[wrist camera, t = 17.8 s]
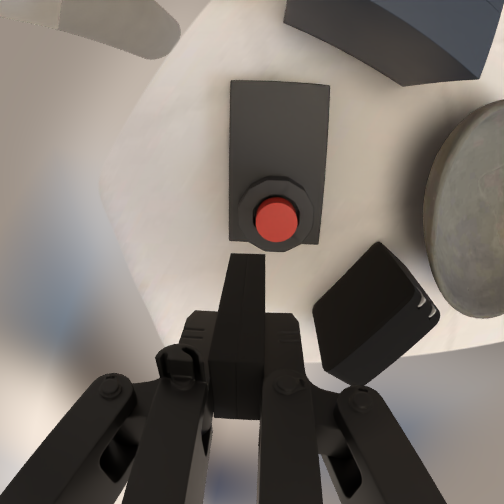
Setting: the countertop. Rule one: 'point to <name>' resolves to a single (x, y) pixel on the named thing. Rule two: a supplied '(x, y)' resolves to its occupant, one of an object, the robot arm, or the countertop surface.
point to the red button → (276, 219)
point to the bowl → (469, 214)
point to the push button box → (277, 156)
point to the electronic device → (371, 317)
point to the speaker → (405, 34)
